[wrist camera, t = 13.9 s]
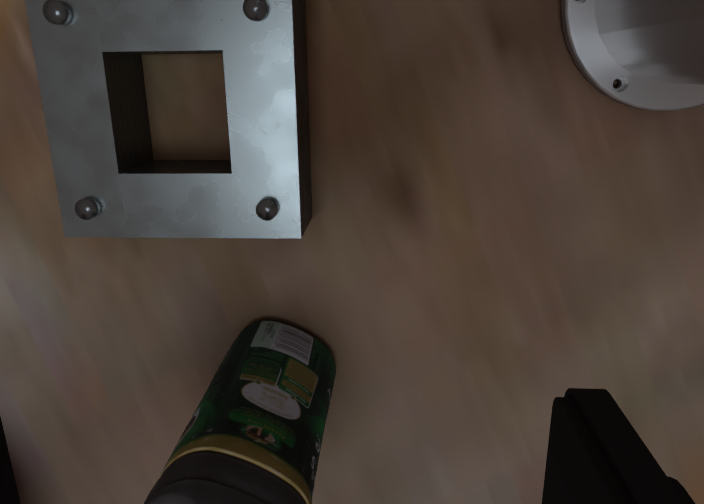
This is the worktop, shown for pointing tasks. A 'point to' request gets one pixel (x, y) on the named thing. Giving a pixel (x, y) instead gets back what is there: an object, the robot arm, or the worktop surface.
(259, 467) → the coffee jar
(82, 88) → the housing
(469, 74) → the worktop surface
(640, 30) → the robot arm
